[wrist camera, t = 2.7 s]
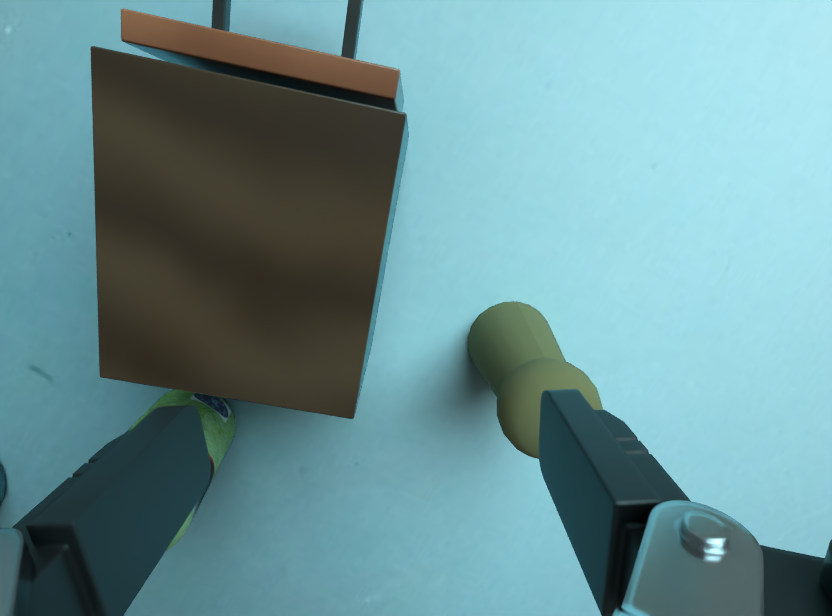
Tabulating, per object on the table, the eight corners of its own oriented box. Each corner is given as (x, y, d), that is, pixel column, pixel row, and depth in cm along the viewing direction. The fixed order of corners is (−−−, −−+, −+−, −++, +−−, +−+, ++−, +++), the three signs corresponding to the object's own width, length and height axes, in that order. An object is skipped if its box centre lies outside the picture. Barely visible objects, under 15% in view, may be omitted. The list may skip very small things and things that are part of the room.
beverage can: (142, 409, 32) (-6, 539, 21) (213, 356, 31) (96, 462, 20) (202, 465, 34) (95, 615, 22) (271, 417, 33) (195, 548, 21)
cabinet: (204, 90, 26) (89, 44, 17) (409, 133, 27) (406, 112, 17) (194, 315, 30) (98, 377, 21) (371, 347, 31) (353, 420, 22)
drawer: (213, -57, 23) (118, -167, 15) (422, -8, 24) (426, -92, 16) (198, 282, 28) (122, 321, 21) (367, 313, 29) (352, 361, 22)
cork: (526, 391, 32) (581, 496, 22) (453, 361, 31) (473, 455, 21) (566, 321, 30) (647, 398, 20) (490, 288, 30) (533, 350, 19)
